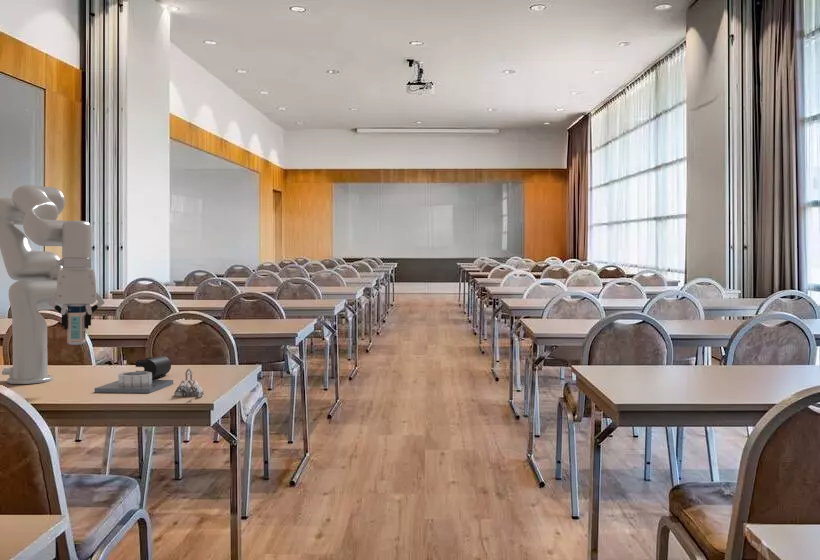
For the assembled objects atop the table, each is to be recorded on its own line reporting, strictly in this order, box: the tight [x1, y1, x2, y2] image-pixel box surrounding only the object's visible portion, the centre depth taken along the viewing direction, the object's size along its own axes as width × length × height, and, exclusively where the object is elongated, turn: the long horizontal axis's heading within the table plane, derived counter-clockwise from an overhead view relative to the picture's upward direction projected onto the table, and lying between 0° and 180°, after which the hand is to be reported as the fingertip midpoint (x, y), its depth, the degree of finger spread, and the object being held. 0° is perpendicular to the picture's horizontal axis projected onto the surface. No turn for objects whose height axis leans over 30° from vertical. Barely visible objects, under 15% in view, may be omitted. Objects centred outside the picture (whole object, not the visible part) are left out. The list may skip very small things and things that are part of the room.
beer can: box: [66, 304, 87, 346], centre depth 199 cm, size 5×5×12 cm
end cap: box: [135, 355, 172, 380], centre depth 222 cm, size 10×7×7 cm
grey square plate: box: [93, 370, 174, 394], centre depth 204 cm, size 16×16×4 cm
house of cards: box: [174, 367, 205, 402], centre depth 191 cm, size 9×9×8 cm
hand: (76, 327), depth 199 cm, fingers closed on beer can, 4 cm apart
